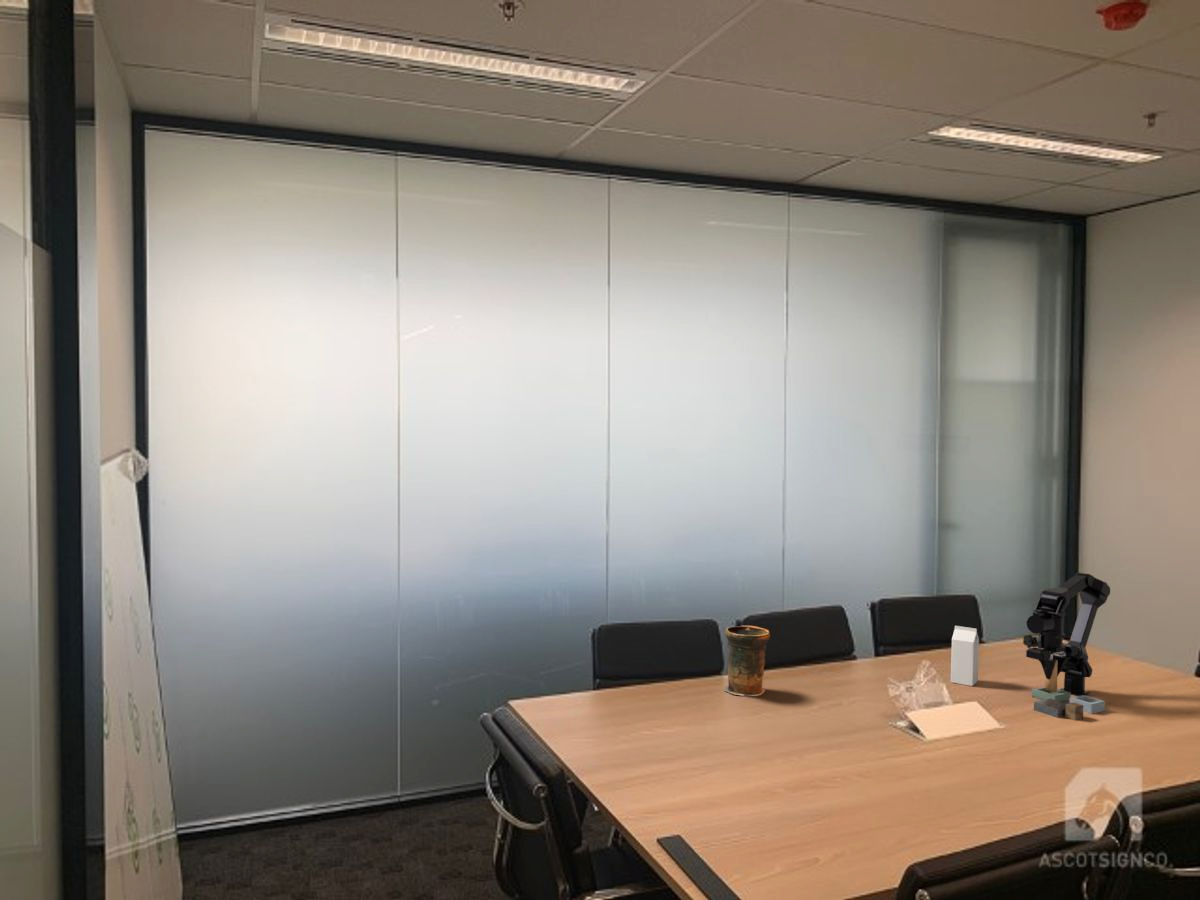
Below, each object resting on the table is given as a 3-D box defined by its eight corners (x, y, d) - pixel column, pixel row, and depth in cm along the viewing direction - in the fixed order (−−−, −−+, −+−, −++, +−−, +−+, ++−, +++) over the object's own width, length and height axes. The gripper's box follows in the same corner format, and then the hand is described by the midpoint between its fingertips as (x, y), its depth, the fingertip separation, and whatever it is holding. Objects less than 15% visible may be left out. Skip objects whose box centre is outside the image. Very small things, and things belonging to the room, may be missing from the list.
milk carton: (972, 686, 292) (973, 630, 292) (950, 682, 297) (951, 627, 296) (977, 682, 298) (979, 627, 298) (956, 678, 302) (957, 624, 302)
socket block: (1082, 704, 274) (1083, 695, 274) (1104, 710, 268) (1105, 701, 268) (1069, 707, 271) (1069, 697, 271) (1091, 713, 265) (1091, 704, 265)
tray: (1047, 693, 286) (1047, 686, 286) (1070, 700, 279) (1070, 692, 279) (1031, 696, 282) (1031, 689, 282) (1054, 703, 275) (1054, 695, 275)
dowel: (1049, 688, 282) (1050, 658, 282) (1059, 691, 280) (1059, 660, 279) (1043, 689, 281) (1044, 659, 281) (1052, 692, 278) (1053, 661, 278)
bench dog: (1073, 715, 263) (1073, 702, 263) (1083, 718, 261) (1083, 705, 260) (1065, 717, 261) (1065, 704, 261) (1074, 720, 259) (1075, 706, 259)
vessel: (769, 699, 274) (770, 635, 274) (723, 696, 276) (725, 633, 276) (767, 686, 288) (769, 626, 288) (724, 683, 291) (725, 623, 290)
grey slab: (1050, 708, 271) (1050, 698, 271) (1074, 715, 264) (1075, 705, 264) (1033, 711, 268) (1034, 701, 268) (1057, 719, 261) (1058, 709, 261)
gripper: (1047, 622, 292) (1046, 668, 292) (1011, 627, 283) (1010, 675, 283) (1079, 629, 282) (1078, 677, 282) (1043, 634, 273) (1042, 684, 273)
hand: (1051, 678), depth 280 cm, fingers closed on dowel, 3 cm apart
